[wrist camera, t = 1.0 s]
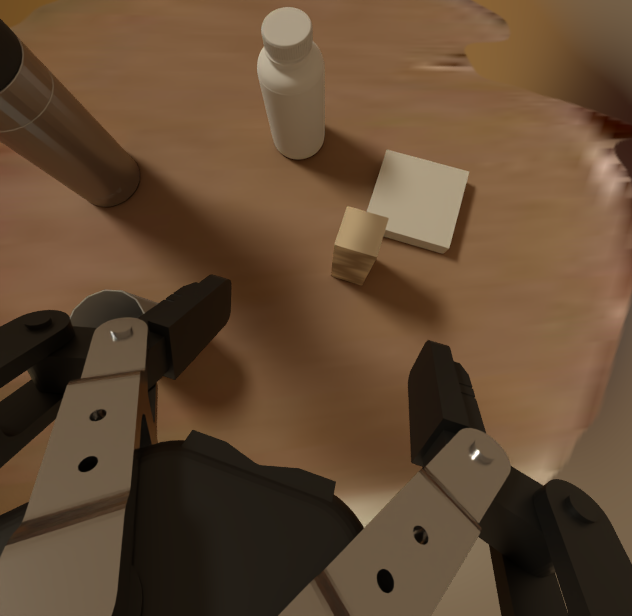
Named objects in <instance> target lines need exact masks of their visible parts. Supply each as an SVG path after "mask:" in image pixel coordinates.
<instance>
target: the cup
mask: <svg viewBox="0 0 632 616" xmlns="http://www.w3.org/2000/svg"><path fill="white" fill-rule="evenodd" d="M157 304H158V303H156V302H153V301H151V300H148V299H145V298H142V297H139V296H136V295H133V294H130V293H127V292H125V291H120V290H102V291H100V292H97V293H95V294H92V295H90V296H87V297H86V298H85V299H84V300H83V301H82V302H81V303H80V304H79V305H78V306H77V307H76V308H75V309H73V312H72V314H71V316H70V320H71V323H72V326H78V327H91V328H98V327H99V326H100V325H102V324H103V323H105V322H107V321H110V320H113V319H117V318H124V317H131V318H138V317H140V316H141V315H143V314H144V313H146V312H147V311H148V310H150V309H151V308H153V307H154V306H156V305H157Z"/></svg>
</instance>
